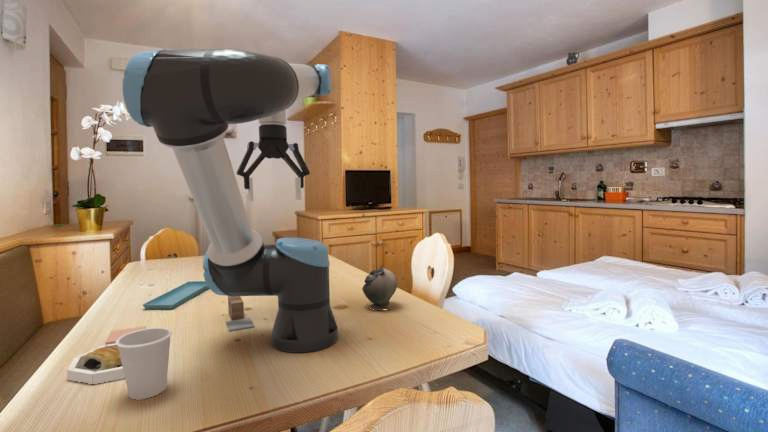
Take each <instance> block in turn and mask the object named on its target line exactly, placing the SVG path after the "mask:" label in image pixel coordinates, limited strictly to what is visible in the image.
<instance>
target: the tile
mask: <svg viewBox="0 0 768 432" xmlns="http://www.w3.org/2000/svg"><path fill="white" fill-rule="evenodd" d="M142 329H146V325H144V326H136V327H131V328H122V329H117V330H116V329H115V330H111V332H110V334H108V337H107V339H106V341H105V345H108V344H114V343H116V341H117V340H118V339H119V338H120V337H121V336H123V335H125V334H128V333H130V332H134V331H137V330H142Z"/></svg>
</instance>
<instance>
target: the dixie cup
mask: <svg viewBox="0 0 768 432" xmlns="http://www.w3.org/2000/svg"><path fill="white" fill-rule="evenodd" d="M172 333H173V331H172V330H170V329H169V328H167V327H149V328H145V329H142V330H137V331H134V332H130V333H128V334H125V335H123V336H121V337H120V338H119V339H118V340H117V341H116V345H117V346H118V349H119V353H120V358H121V362H122V364H121V365H122V366H123V371H124V375H125V379H124V380H125V382H126V383H125V384H126V387H127V391H128V396H129V398H130V399H131V400H134V399H136V400H135V401H141V399H143V400H147V399H146V398H148V399H151V398H150V397H152V398H154V397H153V396H155V395H157V396H159V395H160V394H159V393H161V392H162V391H164V390H165V389H167V385H168V384H167V383H168V373H169V371H168V370H169V359H170V344H171V336H172ZM122 366H121V367H122ZM165 391H166V390H165ZM165 391H164V392H165ZM162 393H163V392H162ZM162 393H161V394H162ZM158 394H159V395H158ZM155 397H156V396H155Z"/></svg>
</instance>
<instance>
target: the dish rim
mask: <svg viewBox="0 0 768 432" xmlns="http://www.w3.org/2000/svg"><path fill="white" fill-rule="evenodd" d="M115 345H116V343H114V344H108V345H106V344H105V345H101V346H98V347H96V348H94V349H92V350H91V349H90V350H89V351H87V352H85V353H82V354H79V355H77V356H75V357H74V358H73V359H72V361H71V363H70V364H69V367H68V368H67V370H66V371H67V380H68V379H71V380H75V381H80V382H85V383H88V384H87V385H90V384H95V385H99V384H98V383H100V384H104V382H105V383H109V381H110V382H114V381H120V380H125V379H124V378H125V375H124V371H123V366H119V367H118V366H117V367H116V368H112V369H107V370H101V371H96V372H95V371H89V370H84V369H78V366H79V365H80V363H81V361H82V360H83V358H84V357H85V356H86V355H87V354H88V353H90V352H93V351H94V350H96V349H99V348H103V347H108V346H115ZM119 379H120V380H119ZM80 382H79V383H80ZM85 383H84V384H85Z"/></svg>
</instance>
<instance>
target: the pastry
mask: <svg viewBox="0 0 768 432" xmlns="http://www.w3.org/2000/svg"><path fill="white" fill-rule="evenodd" d="M98 348H99V347H98ZM95 349H96V348H95ZM93 350H94V349H93ZM121 365H122V362H121V358H120V353H119V349H118V346H117V345H115V346H108V347H103V348H99V349H96V350H94V351H93V352H90V353H88V354H87V355H86V356H85V357H84V358H83V360H82V361H81V363H80V365H79V366H78V369H84V370H89V371H95V372H96V371H101V370H107V369H112V368H117V367H118V366H121Z"/></svg>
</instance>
